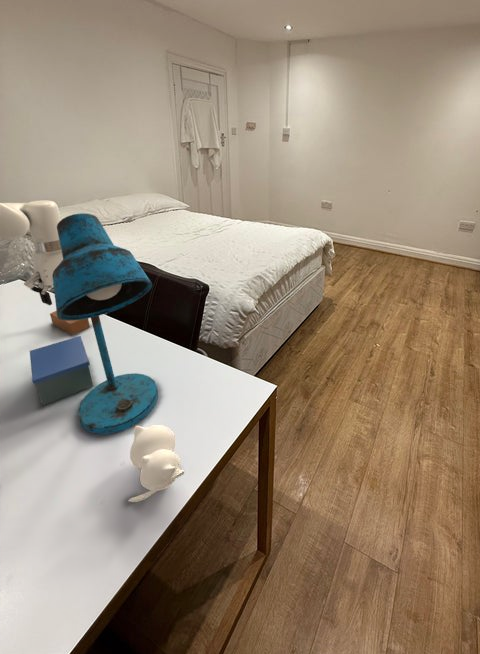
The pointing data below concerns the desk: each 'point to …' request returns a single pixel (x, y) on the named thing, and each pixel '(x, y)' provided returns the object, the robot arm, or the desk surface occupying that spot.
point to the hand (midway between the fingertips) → (65, 296)
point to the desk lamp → (97, 299)
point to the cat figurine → (155, 458)
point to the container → (60, 369)
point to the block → (69, 324)
